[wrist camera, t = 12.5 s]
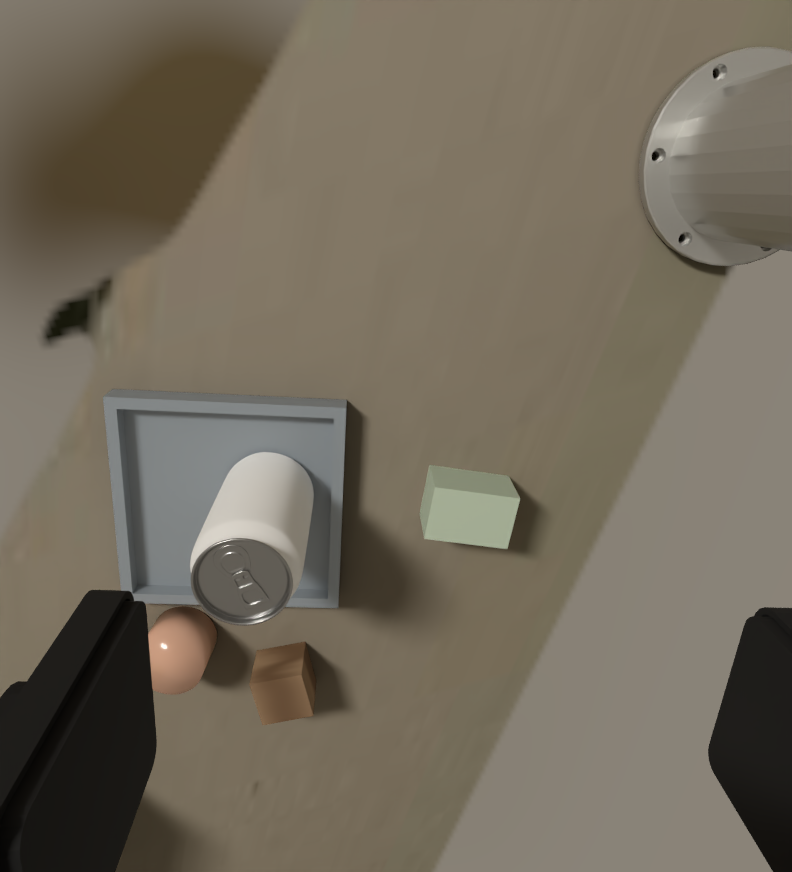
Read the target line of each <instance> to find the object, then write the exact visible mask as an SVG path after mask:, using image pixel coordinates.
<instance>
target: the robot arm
mask: <svg viewBox="0 0 792 872" xmlns="http://www.w3.org/2000/svg"><path fill="white" fill-rule="evenodd" d="M713 70H715V72H716V76H715V78H714V77H713ZM653 152H655V153H656V159H655V160H654V161H653V160H652V153H653ZM639 188H640V196H641V202H642V205H643V207H644V210H645V213H646V216H647V219H648V220H649V222H650V224H651V226H652V227H653V229H654V231H655V232H656V234H657V235H658V236H659V237H660V238H661V239H662V240H663V241H664V243H665V244H666V245H667V246H668V247H670V248H671V249H673V250H674V251H676V252H677V253H679V254H680V255H681V256H684V257H686V258H689V259H691V260H694V261H696V262H701V263H705V264H709V265H719V266H734V265H741V264H748V263H751V262H753V261H757V260H760V259H763V258H766V257H767V256H769V255H771V254H773V253H775V252H777V251H778V250H787V251H792V52H791V51H789V50H784V49H779V48H774V47H749V48H745V49H741V50H736V51H732V52H729V53H726V54H724V55H721V56H719V57H716V58H714V59H712V60H710V61H708V62H707V63H705V64H703V65H701V66H700V67H698V68H696V69H695V70H693V71H692V72H691V73H690V74H689V75H688V76H686V77H685V78H684V79H683V80H682V81H680V82H679V83H678V84H677V85H676V87H675V88H674V89H673V90H672V91H671V92H670V94H669V95H668V96H667V97H666V98H665V100H664V101H663V102H662V104H661V106H660V107H659V109H658V111H657V112H656V114H655V116H654V117H653V119H652V121H651V124H650V126H649V129H648V131H647V134H646V136H645V139H644V142H643V147H642V152H641V156H640V161H639ZM680 235H682V240H681V241H680V242H679V236H680ZM155 754H156V727H155V714H154V702H153V689H152V676H151V664H150V651H149V638H148V626H147V613H146V605H145V603H144V602H143V601H134V597H133V594H132V593H131V592H130V591H115V590H91V591H89V592H88V593H87V594H86V595H85V596H84V598H83V599H82V601H81V602H80V604H79V605H78V607H77V608H76V610H75V611H74V613H73V614H72V616H71V617H70V619H69V620H68V622H67V623H66V625H65V626H64V628H63V629H62V630H61V632H60V633H59V635H58V636H57V638H56V639H55V641H54V642H53V644H52V645H51V647H50V648H49V650H48V651H47V653H46V654H45V656H44V657H43V659H42V660H41V662H40V663H39V665H38V666H37V667H36V669H35V670H34V672H33V673H32V675H31V676H30V678H29V679H28V681H27V682H20V681H18V682H16V683H14V684H12V685H11V686H10V687H9V688H8V689H7V690H6V691H5V692H4V694H3V695H2V696H1V698H0V872H115V870H116V868H117V865H118V862H119V859H120V857H121V854H122V851H123V848H124V845H125V843H126V840H127V837H128V834H129V831H130V829H131V826H132V823H133V820H134V818H135V815H136V812H137V809H138V806H139V804H140V801H141V798H142V795H143V792H144V790H145V787H146V784H147V781H148V779H149V776H150V773H151V770H152V767H153V764H154V759H155ZM708 754H709V761H710V765H711V768H712V770H713V772H714V774H715V776H716V777H717V779H718V781H719V783H720V784H721V786H722V788H723V789H724V791H725V793H726V794H727V796H728V798H729V799H730V801H731V803H732V804H733V806H734V807H735V809H736V811H737V812H738V814H739V816H740V817H741V819H742V821H743V822H744V824H745V826H746V827H747V829H748V831H749V832H750V834H751V836H752V837H753V839H754V841H755V842H756V844H757V845H758V847H759V849H760V851H761V852H762V854H763V856H764V857H765V859H766V861H767V862H768V864H769V865H770V867H771V869H772V870H773V872H792V608H766V607H765V608H761V609H759V610H758V611H757V612H756V613H755V616H753V617H750V618H748V619H747V620H746V623H745V625H744V628H743V632H742V635H741V639H740V643H739V645H738V649H737V652H736V655H735V659H734V662H733V666H732V669H731V672H730V677H729V679H728V683H727V686H726V689H725V693H724V696H723V700H722V703H721V707H720V710H719V713H718V717H717V720H716V723H715V727H714V730H713V734H712V737H711V741H710V744H709V749H708Z"/></svg>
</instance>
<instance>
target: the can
mask: <svg viewBox="0 0 792 872" xmlns="http://www.w3.org/2000/svg"><path fill="white" fill-rule="evenodd" d="M313 500H314V490H313V485H312V482H311V479H310V477H309V475H308V474H307V472H306V471H305V470H304V468H303V467H302V466H301V465H300V464H298V463H297V462H296V461H294V460H293V459H291V458H289V457H287V456H285V455H282V454H278V453H272V452H259V453H255V454H252V455H249V456H247V457H245V458H244V459H242V460H240V461H239V462H238V463H236V464H235V465H234V466H233V467H232V469H231V470H230V471H229V473H228V475H227V476H226V478H225V480H224V482H223V484H222V487H221V489H220V491H219V493H218V495H217V497H216V499H215V501H214V504H213V506H212V508H211V510H210V512H209V514H208V516H207V519H206V521H205V523H204V525H203V527H202V529H201V532H200V534H199V536H198V538H197V541H196V543H195V545H194V548H193V551H192V555H191V560H190V570H191V588H192V591H193V594H194V597H195V599H196V600H197V602H198V603H199V605H200V606H201V607H202V608H203V609H204V610H205V611H206V612H207V613H208V614H210V615H211V616H213V617H214V618H216V619H218V620H220V621H223V622H226V623H229V624H234V625H254V624H259V623H262V622H265V621H267V620H269V619H271V618H273V617H275V616H276V615H277V614H279V613H280V612H281V611H282V610H283V609H284V607H285V606H286V605H287V603H288V601H289V599H290V598H291V597H292V596H293V594H294V593H295V591H296V590H297V588H298V586H299V583H300V580H301V577H302V572H303V567H304V561H305V555H306V548H307V542H308V535H309V529H310V522H311V515H312V508H313Z"/></svg>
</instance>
